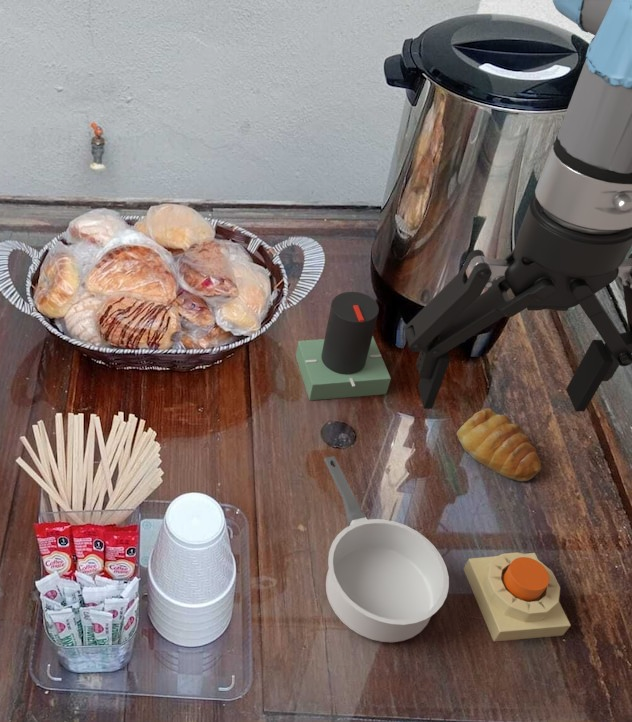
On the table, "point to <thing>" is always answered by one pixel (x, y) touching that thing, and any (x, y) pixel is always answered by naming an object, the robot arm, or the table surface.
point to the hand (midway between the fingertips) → (499, 399)
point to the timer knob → (349, 332)
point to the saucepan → (382, 573)
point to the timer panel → (338, 385)
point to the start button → (526, 578)
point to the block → (514, 601)
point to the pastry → (499, 445)
